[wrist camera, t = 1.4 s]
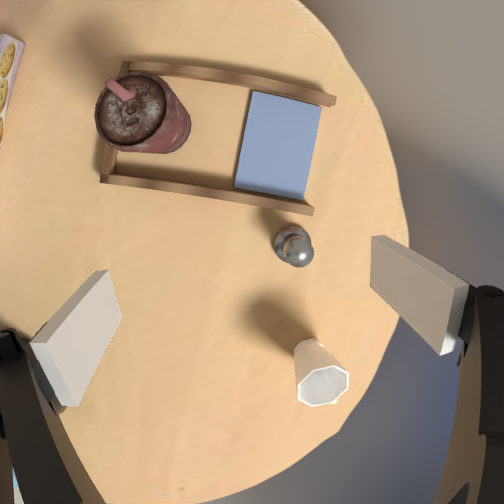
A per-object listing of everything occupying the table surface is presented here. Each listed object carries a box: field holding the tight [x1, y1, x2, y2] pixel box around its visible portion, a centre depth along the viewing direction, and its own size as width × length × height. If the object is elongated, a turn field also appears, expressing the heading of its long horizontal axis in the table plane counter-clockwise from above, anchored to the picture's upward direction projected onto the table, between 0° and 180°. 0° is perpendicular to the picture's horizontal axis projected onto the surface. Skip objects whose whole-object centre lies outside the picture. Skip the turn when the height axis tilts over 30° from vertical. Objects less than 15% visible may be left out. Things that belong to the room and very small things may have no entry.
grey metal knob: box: [274, 226, 314, 267], centre depth 35 cm, size 4×4×4 cm
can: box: [94, 71, 191, 154], centre depth 25 cm, size 6×6×14 cm
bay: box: [100, 61, 336, 216], centre depth 31 cm, size 24×14×2 cm, turn 79°
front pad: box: [234, 91, 322, 200], centre depth 33 cm, size 8×11×1 cm
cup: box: [294, 339, 349, 407], centre depth 38 cm, size 7×10×8 cm
